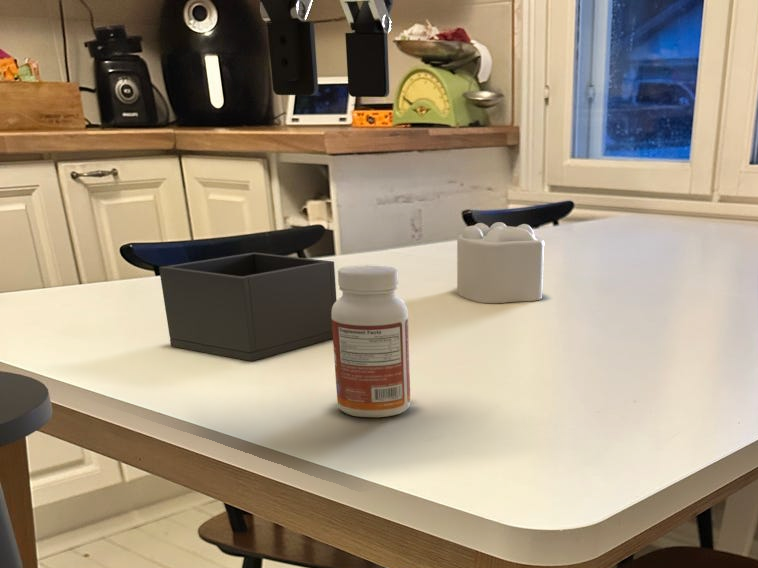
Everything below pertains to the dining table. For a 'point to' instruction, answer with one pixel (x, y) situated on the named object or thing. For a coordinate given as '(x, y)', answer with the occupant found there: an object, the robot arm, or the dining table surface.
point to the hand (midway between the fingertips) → (334, 95)
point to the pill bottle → (371, 343)
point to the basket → (249, 304)
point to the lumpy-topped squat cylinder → (499, 263)
